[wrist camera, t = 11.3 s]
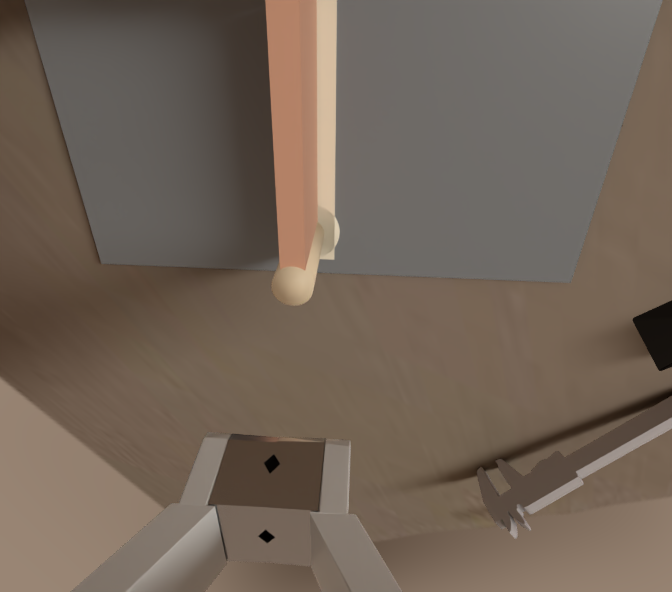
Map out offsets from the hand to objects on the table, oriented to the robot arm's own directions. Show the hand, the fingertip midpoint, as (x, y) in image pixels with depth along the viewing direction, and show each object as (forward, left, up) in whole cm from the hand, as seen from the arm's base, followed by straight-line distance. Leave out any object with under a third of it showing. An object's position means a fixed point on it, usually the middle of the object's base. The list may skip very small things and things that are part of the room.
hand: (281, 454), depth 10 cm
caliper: (+19, +20, -20) cm, 34 cm away
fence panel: (-2, -2, -19) cm, 19 cm away
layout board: (-4, 0, -19) cm, 20 cm away
